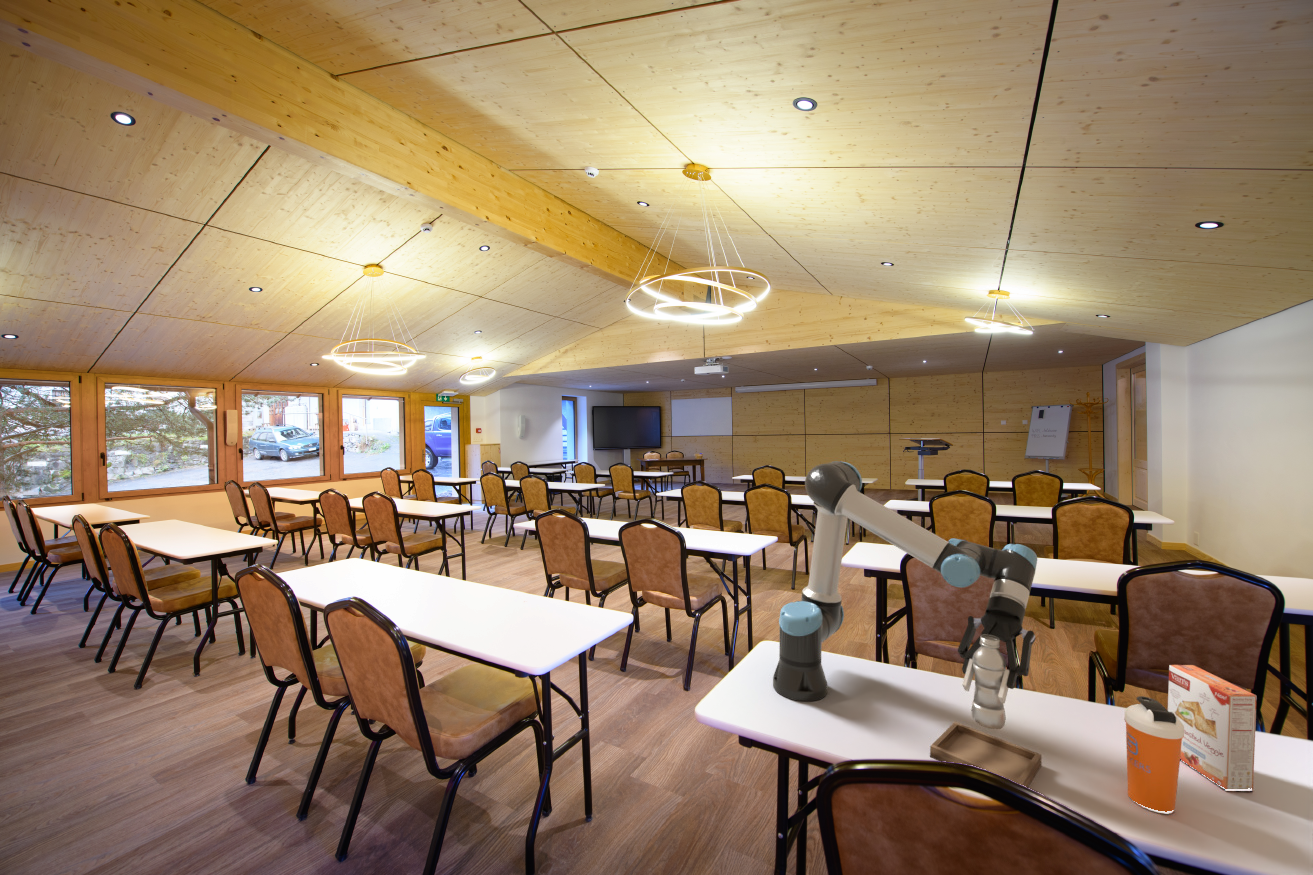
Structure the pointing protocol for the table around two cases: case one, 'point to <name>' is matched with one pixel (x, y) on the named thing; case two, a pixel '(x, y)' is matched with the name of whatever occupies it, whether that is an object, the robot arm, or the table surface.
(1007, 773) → the walnut tray
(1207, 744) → the cracker box
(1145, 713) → the shaker bottle
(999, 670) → the plastic bottle
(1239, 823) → the table surface
